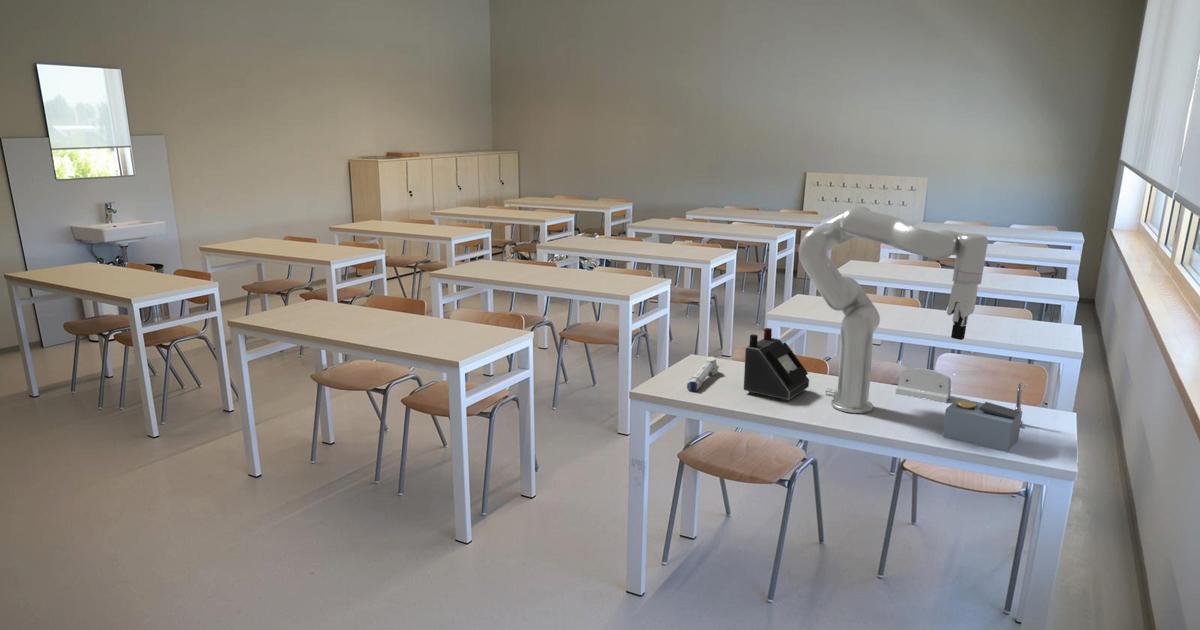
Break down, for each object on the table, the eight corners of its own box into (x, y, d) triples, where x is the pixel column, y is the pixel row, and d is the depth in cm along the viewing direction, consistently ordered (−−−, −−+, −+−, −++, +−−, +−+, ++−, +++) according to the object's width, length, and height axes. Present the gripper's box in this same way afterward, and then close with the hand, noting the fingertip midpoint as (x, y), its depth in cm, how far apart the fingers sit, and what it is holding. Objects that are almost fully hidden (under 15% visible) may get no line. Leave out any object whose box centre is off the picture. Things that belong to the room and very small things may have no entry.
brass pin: (950, 434, 223) (953, 403, 221) (956, 429, 227) (960, 398, 225) (969, 438, 220) (972, 407, 218) (975, 433, 224) (979, 402, 222)
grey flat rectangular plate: (979, 409, 216) (980, 407, 216) (985, 404, 221) (986, 401, 221) (1014, 420, 211) (1014, 417, 211) (1019, 414, 215) (1020, 411, 215)
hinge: (894, 393, 258) (899, 364, 259) (897, 394, 262) (902, 365, 263) (947, 403, 249) (952, 372, 250) (950, 404, 253) (955, 374, 254)
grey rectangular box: (942, 436, 221) (945, 408, 220) (955, 425, 230) (958, 398, 228) (1007, 452, 211) (1011, 423, 209) (1018, 439, 220) (1022, 411, 218)
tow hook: (986, 426, 231) (1021, 429, 227) (989, 385, 228) (1025, 387, 225) (984, 417, 238) (1018, 419, 235) (986, 377, 236) (1021, 379, 232)
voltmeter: (789, 404, 248) (793, 344, 244) (743, 394, 258) (746, 336, 253) (809, 391, 261) (812, 333, 256) (764, 381, 270) (767, 326, 266)
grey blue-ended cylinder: (684, 380, 260) (706, 352, 281) (684, 397, 262) (706, 368, 284) (699, 382, 258) (720, 353, 279) (699, 400, 260) (720, 370, 281)
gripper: (962, 272, 229) (953, 331, 234) (944, 278, 219) (935, 340, 223) (989, 276, 224) (979, 336, 229) (972, 282, 214) (962, 346, 218)
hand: (957, 338), depth 226 cm, fingers closed
